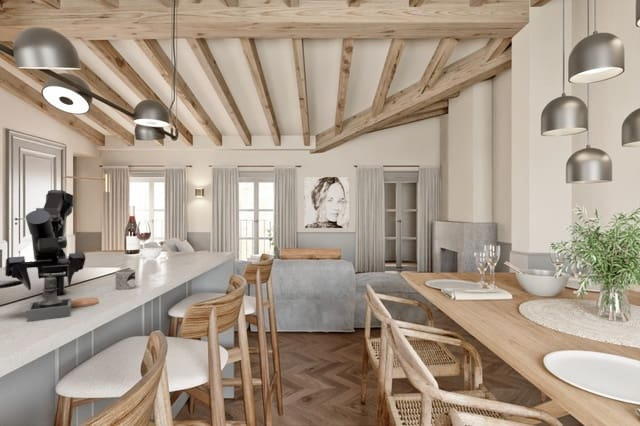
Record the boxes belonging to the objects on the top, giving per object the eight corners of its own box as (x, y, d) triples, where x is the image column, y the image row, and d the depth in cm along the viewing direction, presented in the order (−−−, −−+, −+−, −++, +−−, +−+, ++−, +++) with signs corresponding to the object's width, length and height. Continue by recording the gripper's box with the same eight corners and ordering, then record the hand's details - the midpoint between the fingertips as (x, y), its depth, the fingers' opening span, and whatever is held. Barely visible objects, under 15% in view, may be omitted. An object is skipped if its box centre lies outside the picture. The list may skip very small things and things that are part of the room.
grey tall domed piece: (49, 318, 100) (49, 275, 100) (31, 316, 101) (32, 274, 101) (67, 312, 106) (68, 271, 106) (51, 311, 107) (51, 270, 107)
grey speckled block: (130, 289, 136) (130, 272, 136) (112, 290, 135) (112, 272, 135) (141, 284, 146) (141, 268, 146) (124, 284, 145) (124, 268, 145)
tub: (30, 312, 105) (31, 302, 105) (70, 308, 110) (70, 298, 110) (26, 321, 97) (26, 310, 97) (70, 316, 102) (70, 305, 102)
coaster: (67, 302, 117) (67, 299, 117) (98, 299, 121) (98, 296, 121) (66, 308, 110) (66, 305, 110) (99, 304, 114) (99, 301, 114)
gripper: (6, 228, 101) (9, 273, 93) (84, 227, 114) (92, 265, 106) (3, 254, 106) (6, 298, 98) (78, 250, 119) (86, 288, 111)
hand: (50, 286), depth 103 cm, fingers open, 9 cm apart
